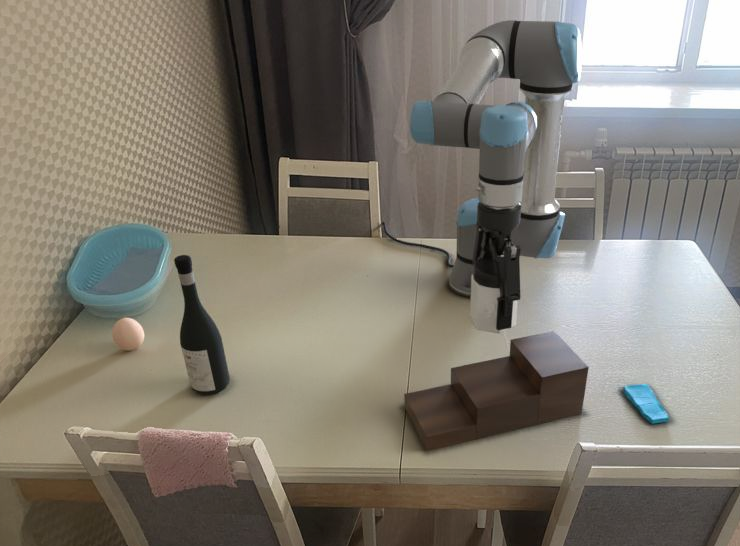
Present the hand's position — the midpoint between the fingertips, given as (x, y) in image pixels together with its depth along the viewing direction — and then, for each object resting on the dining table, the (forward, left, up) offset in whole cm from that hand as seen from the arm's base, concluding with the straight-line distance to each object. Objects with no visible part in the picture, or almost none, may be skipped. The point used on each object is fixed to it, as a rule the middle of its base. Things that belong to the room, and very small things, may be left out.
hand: (493, 315), depth 129 cm
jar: (0, 0, -2) cm, 2 cm away
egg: (-46, -69, -21) cm, 86 cm away
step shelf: (+3, 0, -21) cm, 21 cm away
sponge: (+12, +30, -21) cm, 38 cm away
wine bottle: (-25, -53, -21) cm, 62 cm away
